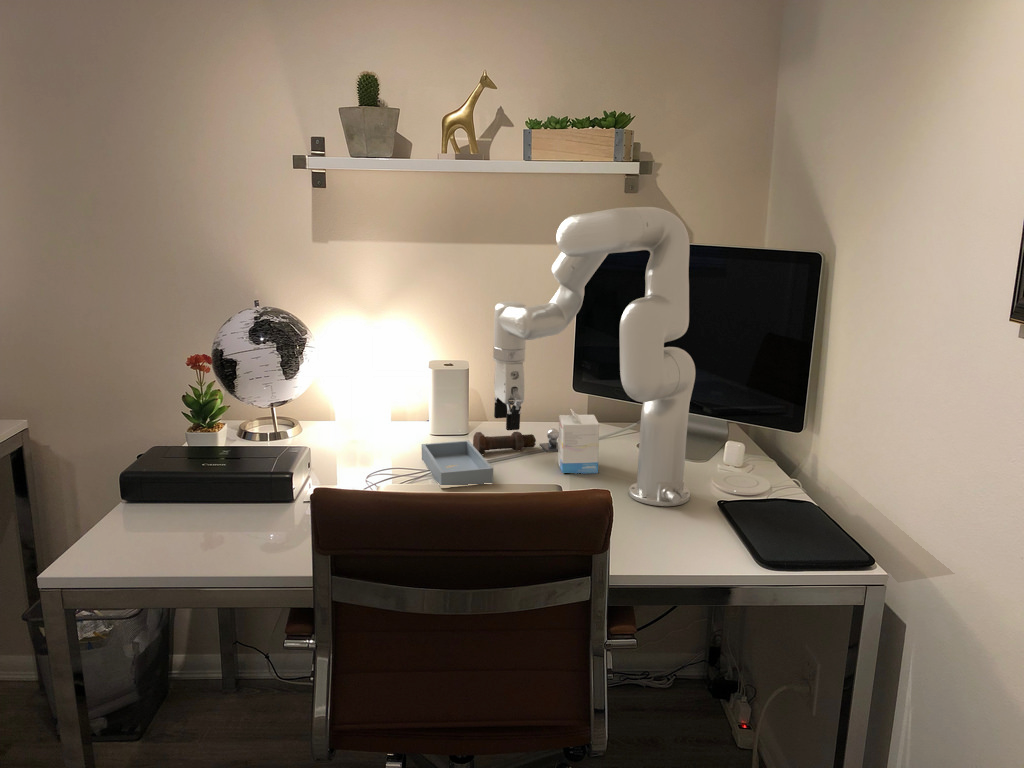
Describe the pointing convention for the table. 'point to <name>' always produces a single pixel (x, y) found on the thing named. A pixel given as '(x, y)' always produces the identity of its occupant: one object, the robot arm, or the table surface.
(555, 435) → the ball stud
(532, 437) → the bolt
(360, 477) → the table surface
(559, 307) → the robot arm
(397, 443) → the table surface
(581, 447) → the ink box
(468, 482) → the parts tray
